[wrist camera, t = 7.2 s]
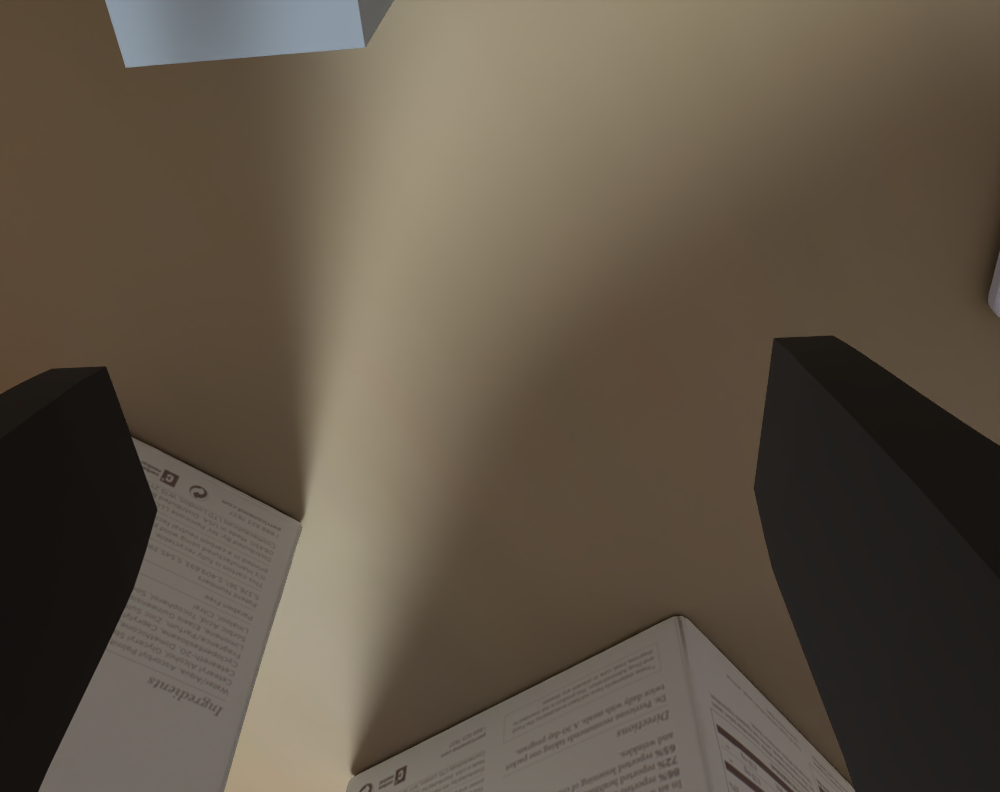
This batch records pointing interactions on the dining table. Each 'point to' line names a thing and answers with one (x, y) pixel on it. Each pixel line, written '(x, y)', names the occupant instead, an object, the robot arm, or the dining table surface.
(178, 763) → the small box
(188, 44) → the plain blue-gray board
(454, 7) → the dining table surface
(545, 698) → the supplement box
